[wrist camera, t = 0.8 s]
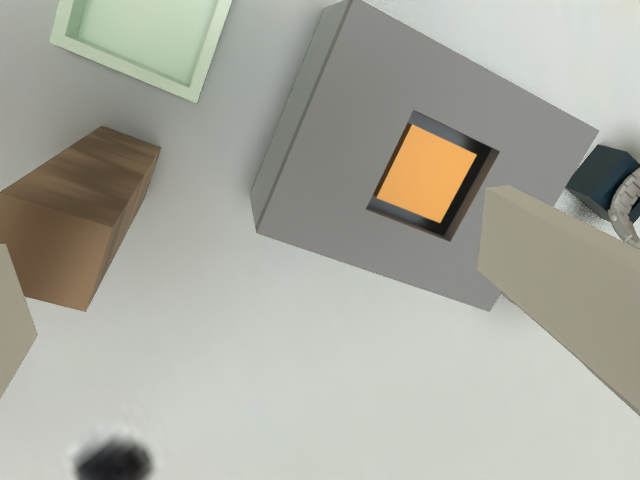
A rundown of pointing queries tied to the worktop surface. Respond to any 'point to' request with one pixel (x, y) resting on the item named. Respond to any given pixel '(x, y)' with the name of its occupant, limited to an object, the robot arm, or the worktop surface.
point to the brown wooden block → (75, 215)
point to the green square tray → (145, 38)
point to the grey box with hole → (380, 142)
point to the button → (424, 173)
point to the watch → (610, 189)
